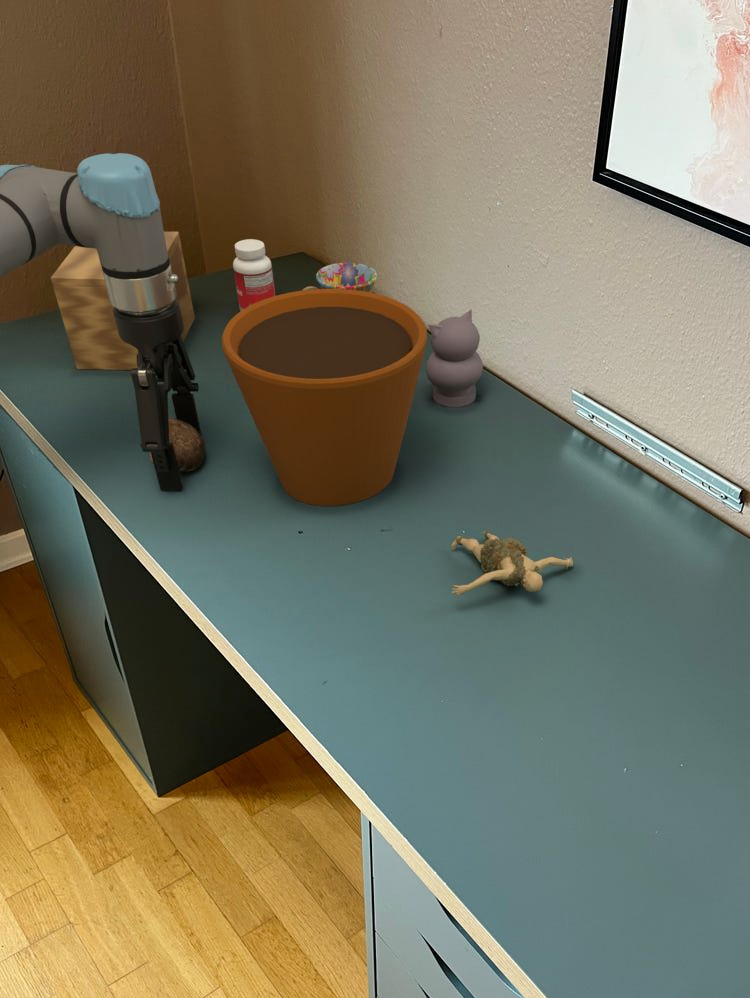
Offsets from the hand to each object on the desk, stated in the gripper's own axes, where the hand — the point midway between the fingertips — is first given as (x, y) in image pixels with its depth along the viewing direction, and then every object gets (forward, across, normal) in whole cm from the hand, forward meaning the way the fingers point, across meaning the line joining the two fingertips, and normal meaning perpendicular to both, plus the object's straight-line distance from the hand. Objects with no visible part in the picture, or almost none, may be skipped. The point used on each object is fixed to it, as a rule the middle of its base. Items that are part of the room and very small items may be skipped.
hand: (182, 462), depth 126 cm
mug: (0, +36, -18) cm, 40 cm away
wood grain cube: (0, +34, +14) cm, 37 cm away
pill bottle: (0, +46, -3) cm, 46 cm away
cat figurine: (+1, +19, -36) cm, 40 cm away
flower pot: (+1, -2, -21) cm, 21 cm away
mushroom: (0, 0, 0) cm, 0 cm away
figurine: (+1, -22, -42) cm, 47 cm away
